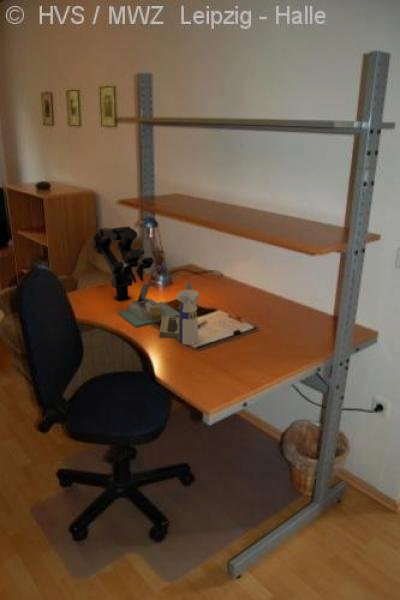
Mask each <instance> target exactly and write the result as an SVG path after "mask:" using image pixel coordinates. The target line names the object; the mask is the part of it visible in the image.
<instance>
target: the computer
mask: <svg viewBox="0 0 400 600" xmlns="http://www.w3.org/2000/svg"><path fill="white" fill-rule="evenodd" d="M159 328H160V329H159V334H158V338H159V339H163V338H165V339H167V338H168V339H169V338H171V339H177V338H178V337H179V317H169V316H163V317H162V321H161V323H160V327H159ZM178 339H179V338H178Z"/></svg>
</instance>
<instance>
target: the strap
mask: <svg viewBox="0 0 400 600" xmlns="http://www.w3.org/2000/svg"><path fill="white" fill-rule="evenodd" d="M150 287H151V282H146V283H143V284H142V287H141V290H140V292H139V296H138V297H137V298H138V299H137V301H138V302H142V301H144V300H145V298H147V295H148V292H149V289H150Z"/></svg>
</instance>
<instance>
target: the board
mask: <svg viewBox="0 0 400 600" xmlns="http://www.w3.org/2000/svg"><path fill="white" fill-rule="evenodd" d="M157 303H158V304H160V305H162V306H163V307H165V308H166V316H169V317H177V318H179V317H180V311H177V310H176V309H175V308H172V307H171V306H169V305H167V304H166V303H164V302H163V301H160V302H157ZM117 315H118V316H120V317H121V318H122V319H124V320H125V321H126V322H128V323H129V324H130V325H131V326H132V327H134V328H136V329H137V328H140V327H145V326H149V325H153V324H157V323H160V321H161V322H162V317H163V316H162V317H161V319H158V320H154V321H152V320H151V319H150V320H146V321H142V320H141V319H139V318H138V317H136V316H135V315H134V314H132V313H131V312H130V311H129V308H128V309H122V310H119V311H117ZM156 322H157V323H156Z"/></svg>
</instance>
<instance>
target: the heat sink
mask: <svg viewBox="0 0 400 600" xmlns="http://www.w3.org/2000/svg"><path fill="white" fill-rule="evenodd" d="M158 303H159V302H157V301H155V300H154V299H153V298H148V297H146V298H145V300H144V301H142V302H138V299H135V300H133V301H132V302H130V303H129V304H128V309H129V311H130V312H131V313H132V314H134V315H135V316H136V317H138V318H139V319H141V320H142V321H146V320H150V319H151V320H152V321H154V320H158V319H161V317H162V316H166V308H165V307H163V306H162V305H160V304H158Z"/></svg>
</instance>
